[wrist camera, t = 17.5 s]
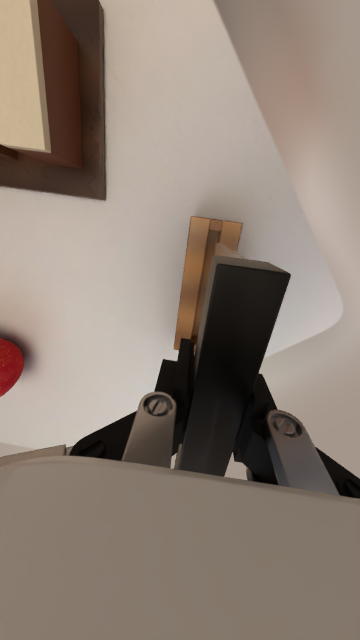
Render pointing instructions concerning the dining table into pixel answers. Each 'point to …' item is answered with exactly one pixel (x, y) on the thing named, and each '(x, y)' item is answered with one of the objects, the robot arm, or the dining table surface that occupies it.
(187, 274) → the knife block
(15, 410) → the dining table surface
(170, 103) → the dining table surface
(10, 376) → the apple
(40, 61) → the cake slice
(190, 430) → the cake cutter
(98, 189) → the cake
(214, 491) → the robot arm
